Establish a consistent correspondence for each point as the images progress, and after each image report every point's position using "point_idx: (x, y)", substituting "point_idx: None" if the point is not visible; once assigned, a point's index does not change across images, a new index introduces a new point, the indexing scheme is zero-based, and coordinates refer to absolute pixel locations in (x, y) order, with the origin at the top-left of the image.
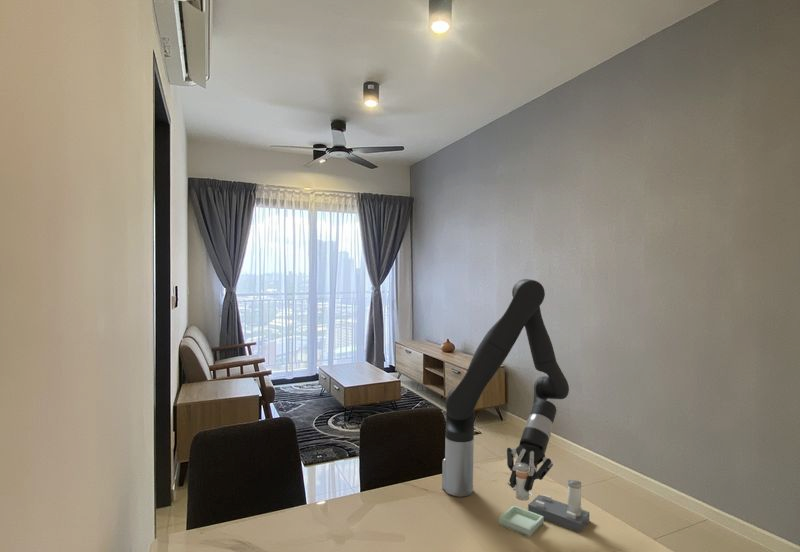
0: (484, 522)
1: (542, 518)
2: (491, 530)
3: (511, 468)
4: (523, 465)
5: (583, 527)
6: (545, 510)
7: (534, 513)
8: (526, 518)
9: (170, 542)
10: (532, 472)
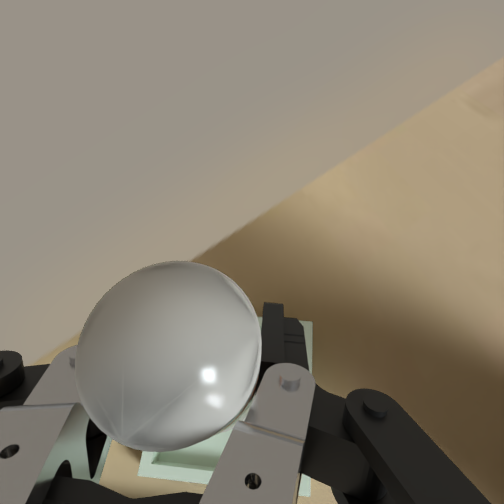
0: (360, 310)
1: (142, 458)
2: (312, 277)
3: (334, 402)
4: (153, 352)
5: None
6: None
7: (185, 476)
8: (223, 442)
9: None
10: (60, 367)
